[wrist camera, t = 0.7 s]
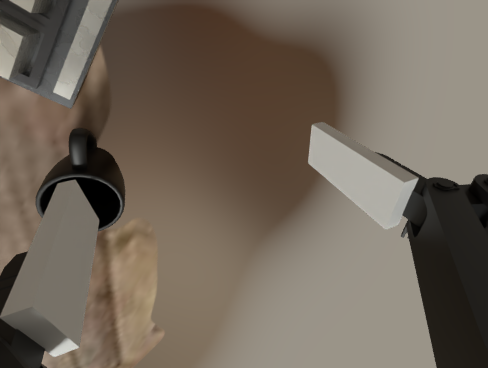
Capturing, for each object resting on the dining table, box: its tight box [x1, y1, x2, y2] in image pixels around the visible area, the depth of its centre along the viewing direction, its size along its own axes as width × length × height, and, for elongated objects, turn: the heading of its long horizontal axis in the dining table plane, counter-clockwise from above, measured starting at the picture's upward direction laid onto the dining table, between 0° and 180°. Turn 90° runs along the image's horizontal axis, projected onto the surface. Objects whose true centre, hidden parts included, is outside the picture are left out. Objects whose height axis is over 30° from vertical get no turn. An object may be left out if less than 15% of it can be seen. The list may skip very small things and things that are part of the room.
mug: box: [36, 128, 125, 231], centre depth 30 cm, size 8×12×10 cm
